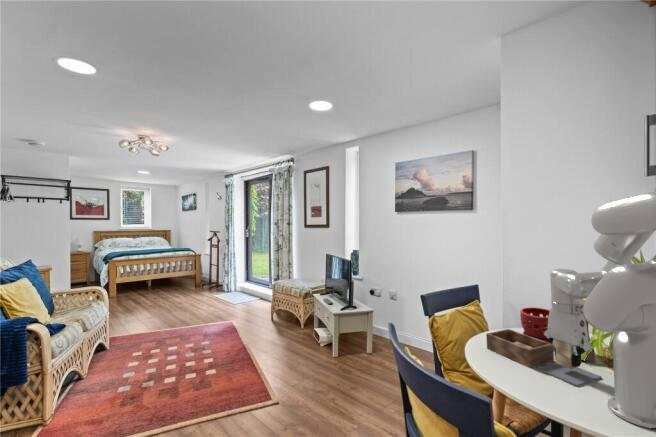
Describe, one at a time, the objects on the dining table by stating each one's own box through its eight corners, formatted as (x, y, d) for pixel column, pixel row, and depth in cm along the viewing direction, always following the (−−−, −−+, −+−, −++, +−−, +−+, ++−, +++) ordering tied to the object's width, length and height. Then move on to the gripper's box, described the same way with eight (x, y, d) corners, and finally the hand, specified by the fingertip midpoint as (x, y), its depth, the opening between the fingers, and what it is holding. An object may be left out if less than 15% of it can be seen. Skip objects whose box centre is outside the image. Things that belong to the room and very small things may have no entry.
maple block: (579, 366, 102) (578, 341, 102) (570, 369, 100) (569, 344, 100) (565, 360, 106) (564, 337, 106) (556, 363, 104) (555, 339, 104)
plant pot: (514, 338, 134) (513, 310, 134) (532, 332, 140) (531, 305, 140) (548, 349, 122) (546, 318, 122) (565, 341, 128) (564, 312, 128)
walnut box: (554, 361, 112) (553, 344, 112) (530, 368, 108) (529, 350, 108) (509, 343, 129) (508, 328, 129) (487, 348, 125) (486, 333, 125)
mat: (601, 378, 99) (601, 376, 99) (576, 386, 95) (576, 384, 95) (561, 362, 110) (561, 361, 110) (538, 369, 106) (538, 368, 106)
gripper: (602, 312, 96) (605, 371, 96) (547, 299, 112) (549, 350, 112) (587, 316, 94) (589, 377, 94) (532, 302, 109) (534, 354, 110)
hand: (567, 362), depth 103 cm, fingers closed on maple block, 4 cm apart
